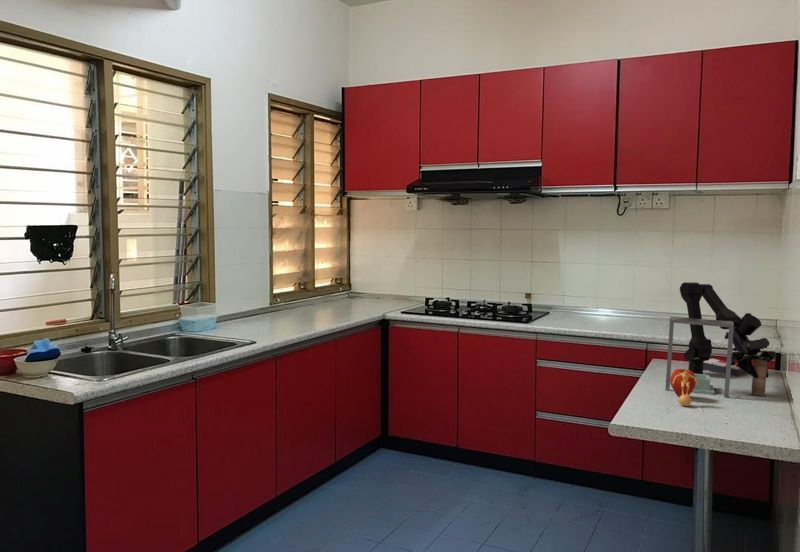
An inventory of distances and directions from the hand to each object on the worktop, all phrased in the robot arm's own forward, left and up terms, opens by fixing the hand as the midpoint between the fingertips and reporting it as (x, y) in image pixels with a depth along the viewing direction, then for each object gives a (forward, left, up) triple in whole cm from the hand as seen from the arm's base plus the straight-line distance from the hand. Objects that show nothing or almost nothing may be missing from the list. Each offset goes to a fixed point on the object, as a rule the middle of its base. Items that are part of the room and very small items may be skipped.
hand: (762, 377), depth 237 cm
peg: (-1, -1, -7) cm, 7 cm away
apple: (+13, -30, -7) cm, 33 cm away
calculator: (-42, -3, -8) cm, 43 cm away
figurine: (+23, -31, -7) cm, 39 cm away
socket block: (-3, -22, -7) cm, 23 cm away
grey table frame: (+1, -22, -7) cm, 24 cm away
